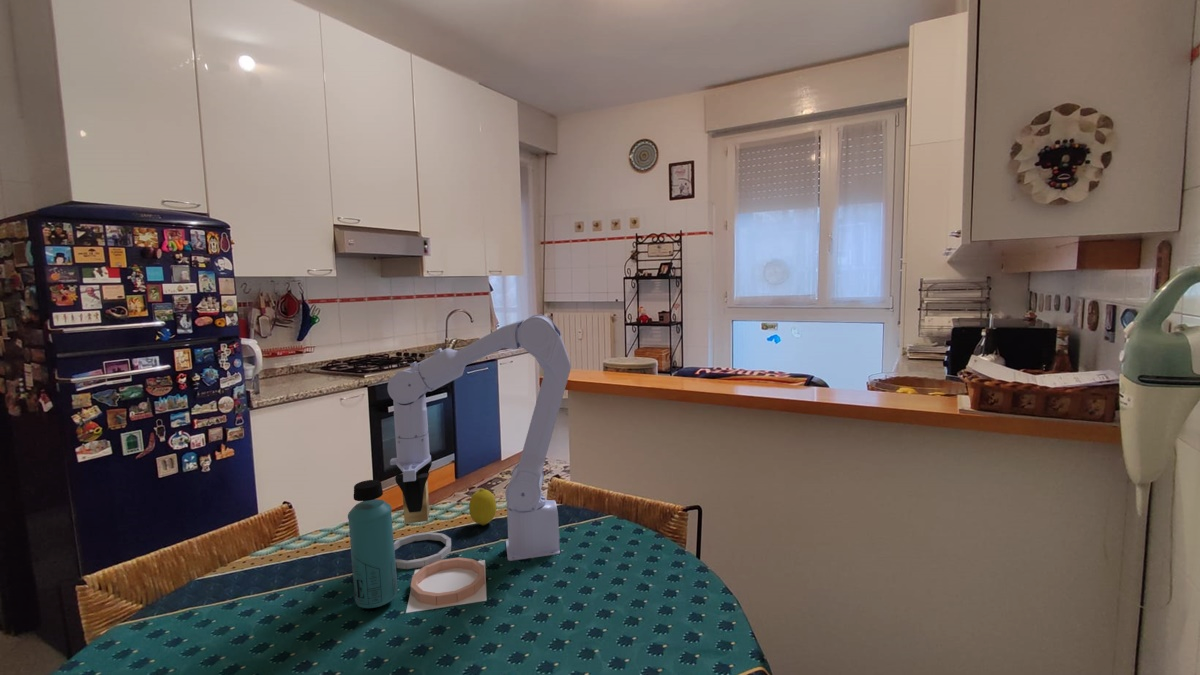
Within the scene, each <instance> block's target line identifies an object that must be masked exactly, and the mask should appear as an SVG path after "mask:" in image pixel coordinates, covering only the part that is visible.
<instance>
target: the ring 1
mask: <svg viewBox="0 0 1200 675" xmlns="http://www.w3.org/2000/svg"><path fill="white" fill-rule="evenodd" d="M427 540H429V541H436V542H437V541H439V542H442V543H443V544H444V545H445V546H444V547H443V548H442V549H441V550H439V551H438V552H437V553H434V554H432V555H429V556H426V557H424V558H418V559H410V560H406V559H405V560H404V559H400V558H399V559H398V558H395V559H396V560H395V562H396V563H397V569H402V570H411V569H417V568H418V569H420V568H423V567H424V566H426V565H429V564H432V563H434V562H437V561H439V560H444V559H445V558H446V557H447V556H448V555H450V553H451V552H452V551H451V550H452V538H451V537H449V536H448V535H447V534H444V533H441V532H440V533H439V532H431V531H426V532H418V533H412V534H410V535H409V534H408V535H407V536H404V537H401V538H397V539H396V540H394V549H395V548H396V550H398V549H400V547H403V546H405V545H409V544H411V543H414V542H419V541H427Z"/></svg>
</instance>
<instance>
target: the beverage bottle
mask: <svg viewBox="0 0 1200 675" xmlns="http://www.w3.org/2000/svg"><path fill="white" fill-rule="evenodd" d="M383 495H384V491H383V487H382V482H381V480H377V479H368V480H362V481H360V482H358V483H355V485H354V486H353V500H354V501H357V502H358V503H357V504H355V505H354V506H353V507H352V508H351V510H349V512H348V514H347V520H348V528H349V548H350V554H351V556H350V558H351V560H350V563H351V578H352V579H351V580H352V581H351V582H352V592H353V599H354V602H355V603H356V605H357V606H358V607H360V608H363V609H374V608H379V607H382V606H385V605H386V604H389V603H391V601H393V600H394V599H395V597H396V596H397V593H398V589H399V580H398V576H399V575H398V568H397V563H396V562H395V560H396V559H397V558H396V551H397V549H396V548H395V549H394V542H395V540H394V531H393V530H394V529H393V517H392V506H391V504H390V503H388V502H386V501H385V500H383V499H380V498H381V497H382V496H383Z"/></svg>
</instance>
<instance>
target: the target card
mask: <svg viewBox="0 0 1200 675" xmlns="http://www.w3.org/2000/svg"><path fill="white" fill-rule="evenodd" d="M477 561H478V562H479V563H481V564H482V565H483V566H484V577H485V584H484V585H483V586H482V587H481V588H480V589H479V591H478V592H477V593H476V594H474V595H472V596H470V597H468V598H466V599H464V600H461V601H459V602H456V603H450V604H443V605H431V604H425V603H420V602H418V601H417V600H416V599H415V598H414V597H413V596H412V595H411V590H410V593H409V597H408V602H407V606H406V610H405V614H409V613H417V612H422V611H428V610H434V609H440V608H441V609H442V608H447V607H448V608H449V607H454V606H459V605H467V604H474V603H480V602H486V601H487V599H488V598H487V580H486V579H487V578H486V577H487V576H486V572H487V571H486V560H485V559H483V560H477ZM420 569H421V568H418V569H417V568H416V569H414V573H413V575H414V574H416V573H417V572H418V571H419V570H420ZM478 576H479V575H478V574H477V573H475V572H474V571H473V570H469V569H462V568H454V569H447V570H441V571H439V572H436V573H434V574H432V575H429V576H427V577H426V578H425V579H424V580H423V581H421V582H420V583H419V584H418V587H419V588H420V589H422V590H423V591H427V592H433V593H443V592H450V591H456V590H458V589H460V588H463V587H465V586H467V585H469V584H471V583H472V582H473V581H474V580H475V579H476V578H477V577H478Z"/></svg>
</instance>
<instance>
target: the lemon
mask: <svg viewBox="0 0 1200 675" xmlns="http://www.w3.org/2000/svg"><path fill="white" fill-rule="evenodd" d="M468 511H469V515H470V518H471V520H472V521H474V523H476V524H478V525H481V526H486V525H487V524H488V523H490V522H491V521H492V520H494V518H495V516H496V512H497V501H496V498H495V495H494V494H493V493H492V492H491V491H490V490H488V489H485V488H479V490H477V491H475V492H474V493H473V494H472V495H471V497H470V500H469V505H468Z"/></svg>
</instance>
